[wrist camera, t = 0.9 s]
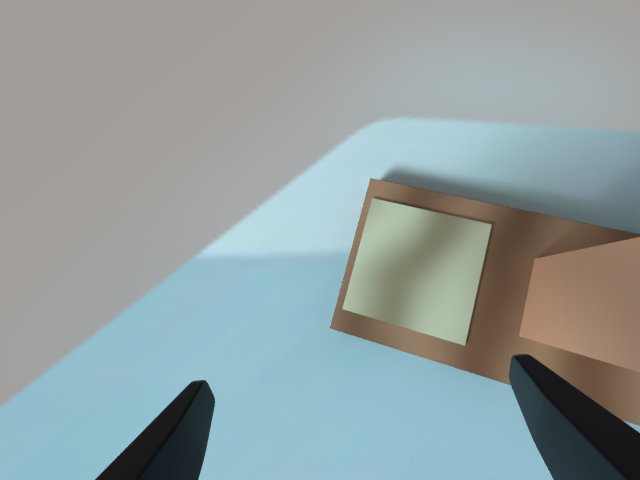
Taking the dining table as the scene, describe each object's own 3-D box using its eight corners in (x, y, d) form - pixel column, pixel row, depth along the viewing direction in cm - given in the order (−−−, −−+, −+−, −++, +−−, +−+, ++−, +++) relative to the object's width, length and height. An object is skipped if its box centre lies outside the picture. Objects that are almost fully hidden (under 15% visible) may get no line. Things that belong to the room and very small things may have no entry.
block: (623, 279, 19) (875, 267, 10) (609, 361, 19) (862, 436, 9) (534, 258, 20) (681, 228, 11) (518, 336, 20) (659, 378, 10)
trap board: (864, 293, 19) (930, 293, 17) (848, 485, 18) (917, 514, 15) (370, 187, 25) (370, 176, 23) (333, 325, 24) (329, 328, 21)
